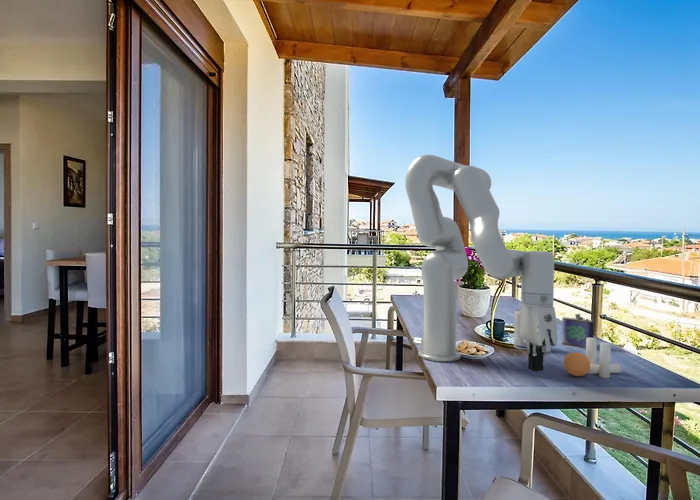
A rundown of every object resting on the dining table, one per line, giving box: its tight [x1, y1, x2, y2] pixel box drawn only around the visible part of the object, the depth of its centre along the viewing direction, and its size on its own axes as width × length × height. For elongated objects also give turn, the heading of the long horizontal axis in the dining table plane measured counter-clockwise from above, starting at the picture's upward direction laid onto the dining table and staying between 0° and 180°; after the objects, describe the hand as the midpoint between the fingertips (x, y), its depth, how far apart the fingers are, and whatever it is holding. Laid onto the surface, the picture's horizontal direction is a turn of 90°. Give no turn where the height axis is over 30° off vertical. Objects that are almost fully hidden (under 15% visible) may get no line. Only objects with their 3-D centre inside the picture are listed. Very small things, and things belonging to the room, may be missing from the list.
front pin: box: [587, 363, 622, 375], centre depth 106 cm, size 2×2×8 cm
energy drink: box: [513, 309, 527, 351], centre depth 129 cm, size 5×5×12 cm
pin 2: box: [598, 342, 612, 379], centre depth 104 cm, size 2×2×8 cm
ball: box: [562, 351, 590, 377], centre depth 104 cm, size 6×6×6 cm
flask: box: [561, 313, 595, 349], centre depth 132 cm, size 9×3×11 cm, turn 45°
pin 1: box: [585, 337, 598, 364], centre depth 109 cm, size 2×2×8 cm
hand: (535, 369), depth 104 cm, fingers closed
